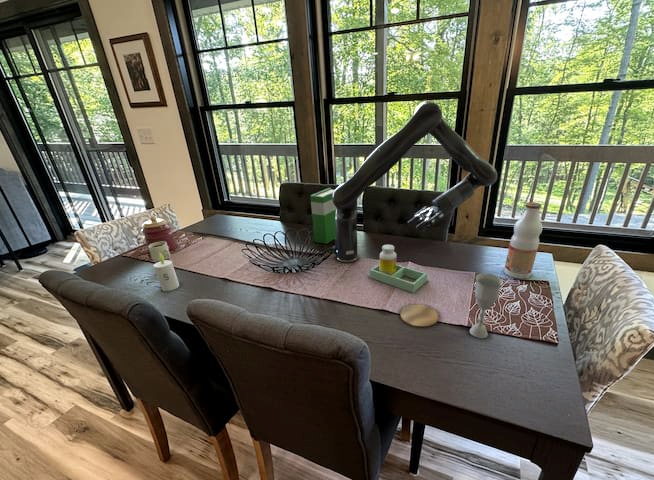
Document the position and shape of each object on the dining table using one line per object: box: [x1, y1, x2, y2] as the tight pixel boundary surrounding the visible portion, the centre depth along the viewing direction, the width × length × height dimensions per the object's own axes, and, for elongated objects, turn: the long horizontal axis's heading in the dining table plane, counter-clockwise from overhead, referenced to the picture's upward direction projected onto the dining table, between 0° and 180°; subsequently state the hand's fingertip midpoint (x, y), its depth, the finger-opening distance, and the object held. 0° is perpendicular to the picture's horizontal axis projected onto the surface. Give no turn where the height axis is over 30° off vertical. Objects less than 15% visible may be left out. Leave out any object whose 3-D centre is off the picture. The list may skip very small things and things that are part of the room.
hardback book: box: [309, 187, 336, 245], centre depth 161 cm, size 18×7×24 cm, turn 150°
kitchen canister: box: [140, 216, 177, 253], centre depth 157 cm, size 13×13×18 cm
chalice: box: [469, 273, 504, 339], centre depth 88 cm, size 7×7×18 cm
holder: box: [369, 263, 428, 293], centre depth 122 cm, size 20×10×4 cm, turn 50°
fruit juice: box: [503, 201, 544, 280], centre depth 117 cm, size 9×9×28 cm
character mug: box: [147, 242, 171, 263], centre depth 135 cm, size 11×7×13 cm, turn 67°
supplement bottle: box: [378, 244, 398, 276], centre depth 123 cm, size 7×7×13 cm
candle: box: [153, 252, 180, 292], centre depth 122 cm, size 6×6×15 cm
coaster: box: [399, 303, 439, 328], centre depth 101 cm, size 12×12×1 cm
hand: (412, 226), depth 120 cm, fingers open, 8 cm apart
